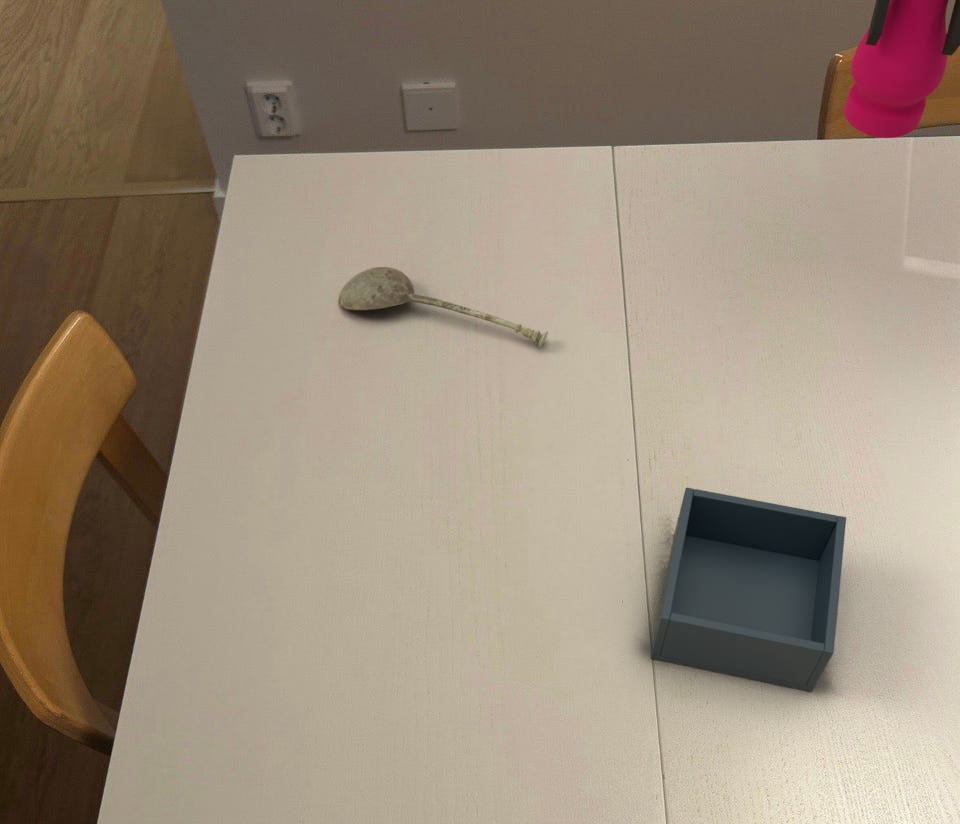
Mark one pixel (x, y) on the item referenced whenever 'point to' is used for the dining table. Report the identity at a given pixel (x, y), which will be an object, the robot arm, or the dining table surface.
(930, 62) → the pepper mill
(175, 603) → the dining table surface
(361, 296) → the soupspoon
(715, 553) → the box
